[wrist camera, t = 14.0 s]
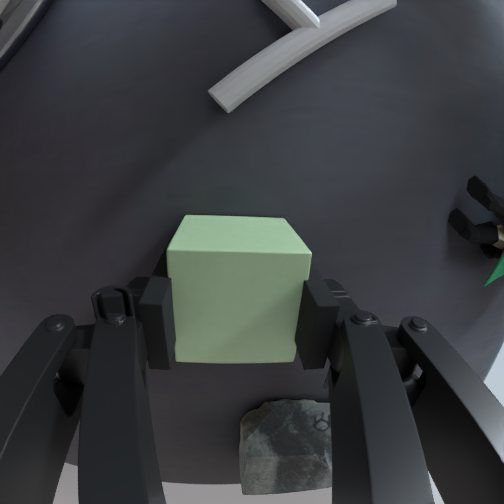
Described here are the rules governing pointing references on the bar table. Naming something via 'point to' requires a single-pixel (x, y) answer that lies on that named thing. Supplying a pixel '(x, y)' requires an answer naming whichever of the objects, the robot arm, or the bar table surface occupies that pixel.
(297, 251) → the sage block
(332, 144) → the bar table surface
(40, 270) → the bar table surface
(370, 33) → the bar table surface
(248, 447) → the stone block
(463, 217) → the figurine
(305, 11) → the pipe joint
